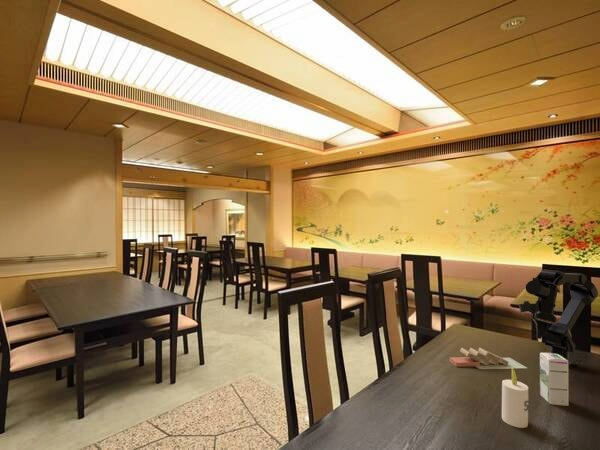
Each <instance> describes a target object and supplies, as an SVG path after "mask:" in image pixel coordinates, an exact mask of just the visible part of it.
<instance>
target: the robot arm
mask: <svg viewBox="0 0 600 450" xmlns="http://www.w3.org/2000/svg"><path fill="white" fill-rule="evenodd" d="M567 283H568V289H569V294H570V298H571V299H570V301H569V302H568V303H567V305H566V307H565V309H564V310H563V311H562V314H561V315H560V317H559V318H558V321H557V322H556V320H557V317H556V316H555V315H554V311H555V308H556V306H557V305H556V301H557V296H558V293H559V294H560V293H561V291H560V289H559V288H558V286H563V285H565V284H567ZM525 290H526V292H527V294H530V295H532V296H535V297H537V300H536V301H535V303H531V302H530V301H529V300H524V301H523V303H519V304H518V306H519V307H518V308H519V312H520V313H528V312H529V313H530V312H533V313H532V314H531V319H532V321H533V322H534V324H535V328H536V338H537V339H539V340H541V339H542V338H543V341H544V345H545V346H548V347H550V353H555V354H559V355H560V356H562V357H563V358H565V359H566V360H568V367H569V366H571V364H572V361H570V360H569V356H570V355H569V354H570V353H574V352H575V350H576V344H575V342H574V341H573V337H572V333H571V330H572V329H573V327H574V326H575V323H576V322H577V320H578V318H579V316H580V314H582V311H583V310H584V308H585V306H587V305H590V304H592V303H593V302H594V301H595V300H596V299H597V298H598V296H599V291H598V289H597V287H596V285H595V284H594V283H593V282H592V281H590V280H589V279H588V278H587V276H586V274H583V273H577V272H563V271H559V270H552V269H551V270H550V269H541V270H540V272H539V273H538V274H537V275H536V276H535V277H532V280H530V281H527V283H526V284H525Z"/></svg>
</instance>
